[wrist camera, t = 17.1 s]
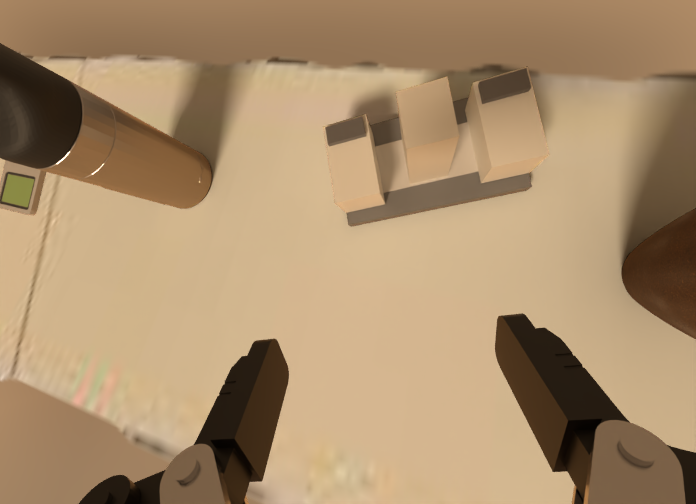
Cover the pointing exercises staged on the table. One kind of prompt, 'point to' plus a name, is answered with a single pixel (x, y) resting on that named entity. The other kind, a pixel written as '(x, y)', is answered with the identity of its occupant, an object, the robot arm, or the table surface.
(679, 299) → the plant pot
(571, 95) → the table surface
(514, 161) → the board
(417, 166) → the block
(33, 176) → the handheld gaming console
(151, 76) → the table surface
